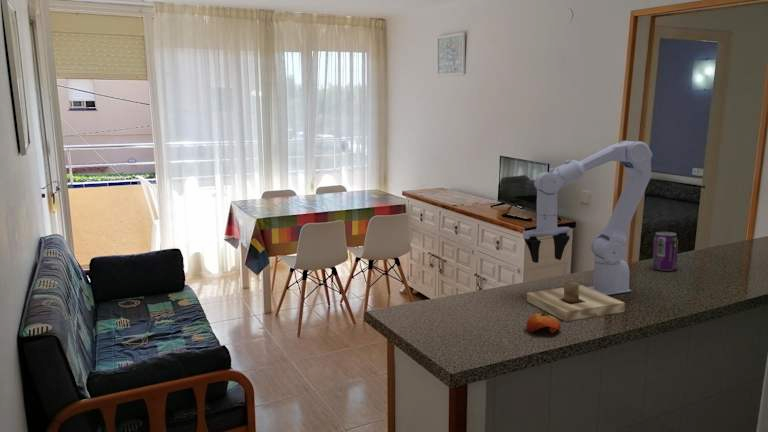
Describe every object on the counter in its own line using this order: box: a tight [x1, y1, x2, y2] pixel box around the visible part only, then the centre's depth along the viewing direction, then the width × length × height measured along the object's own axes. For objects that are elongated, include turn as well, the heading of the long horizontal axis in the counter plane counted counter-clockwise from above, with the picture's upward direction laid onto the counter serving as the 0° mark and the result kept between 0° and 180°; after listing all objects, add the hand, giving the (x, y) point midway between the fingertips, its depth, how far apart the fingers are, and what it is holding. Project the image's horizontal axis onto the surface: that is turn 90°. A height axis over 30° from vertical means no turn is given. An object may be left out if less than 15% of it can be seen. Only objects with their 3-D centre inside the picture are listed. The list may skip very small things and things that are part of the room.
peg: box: [563, 281, 580, 304], centre depth 153 cm, size 4×4×7 cm
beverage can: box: [652, 231, 679, 272], centre depth 188 cm, size 7×7×12 cm
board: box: [526, 284, 626, 322], centre depth 156 cm, size 18×18×2 cm
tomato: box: [526, 310, 562, 335], centre depth 139 cm, size 8×7×7 cm
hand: (546, 260), depth 167 cm, fingers open, 7 cm apart
